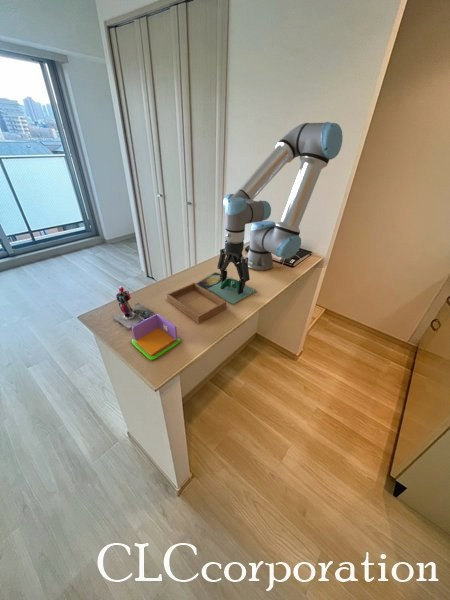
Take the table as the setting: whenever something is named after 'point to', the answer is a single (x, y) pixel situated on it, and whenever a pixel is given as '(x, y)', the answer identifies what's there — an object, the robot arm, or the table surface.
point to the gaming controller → (230, 283)
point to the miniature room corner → (154, 336)
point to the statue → (130, 310)
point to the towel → (231, 293)
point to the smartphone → (210, 281)
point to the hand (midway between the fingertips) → (232, 288)
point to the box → (204, 292)
